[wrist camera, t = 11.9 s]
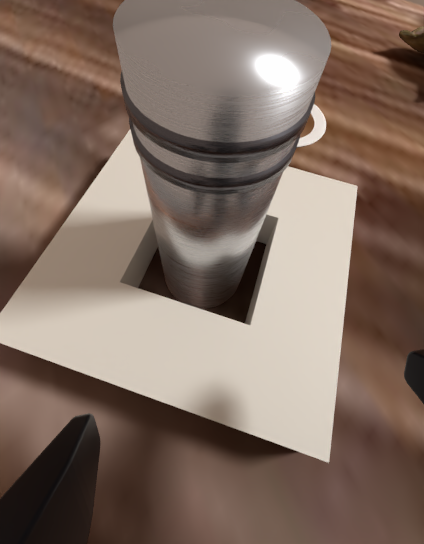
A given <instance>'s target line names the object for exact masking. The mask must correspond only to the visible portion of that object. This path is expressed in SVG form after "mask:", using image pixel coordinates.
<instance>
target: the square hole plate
mask: <svg viewBox="0 0 424 544" xmlns="http://www.w3.org/2000/svg"><path fill="white" fill-rule="evenodd" d="M356 195H357V186H355V185H352V184H348V183H345V182H341V181H338V180H334V179H330V178H327V177H323V176H320V175H316V174H313V173H309V172H306V171H302V170H299V169H295V168H291V167H288V166H287V168H286V169H285V170H284V171H283V174H282V176H281V179H280V181H279V184H278V186H277V189H276V192H275V194H274V197H273V199H272V202H271V204H270V207H269V209H268V212H267V214H266V217H265V219H264V222H263V225H262V227H261V230H260V232H259V235H258V237H257V240H256V241H258V242H261V243H264V244H266V247H265V251H264V255H263V258H262V262H261V266H260V269H259V273H258V277H257V280H256V284H255V288H254V291H253V295H252V299H251V302H250V306H249V310H248V313H247V317H246V321H245V324H244V323H241V322H238V321H235V320H232V319H229V318H226V317H223V316H220V315H217V314H214V313H211V312H208V311H205V310H202V309H199V308H196V307H193V306H190V305H187V304H184V303H181V302H178V301H175V300H172V299H169V298H166V297H163V296H160V295H157V294H154V293H151V292H148V291H145V290H142V289H139V288H138V287H139V285H140V283H141V281H142V279H143V277H144V275H145V273H146V270H147V268H148V266H149V264H150V262H151V260H152V258H153V256H154V254H155V252H156V250H157V248H158V242H157V238H156V233H155V228H154V223H153V218H152V213H151V208H150V204H149V199H148V194H147V189H146V184H145V179H144V175H143V170H142V165H141V160H140V157H139V155H138V153H137V151H136V149H135V146H134V143H133V138H132V134H131V129H130V130H129V132H128V133H127V135H126V136H125V138H124V139H123V140H122V142H121V143H120V145H119V146H118V147H117V149H116V150H115V152H114V153H113V155H112V156H111V157H110V159H109V160H108V162H107V163H106V164H105V166H104V167H103V169H102V170H101V171H100V173H99V174H98V176H97V177H96V179H95V180H94V181H93V183H92V184H91V186H90V187H89V188H88V190H87V191H86V193H85V194H84V196H83V197H82V198H81V200H80V201H79V203H78V204H77V205H76V207H75V208H74V210H73V211H72V212H71V214H70V215H69V217H68V218H67V220H66V221H65V222H64V224H63V225H62V227H61V228H60V229H59V231H58V232H57V234H56V235H55V237H54V238H53V239H52V241H51V242H50V244H49V245H48V246H47V248H46V249H45V251H44V252H43V253H42V255H41V256H40V258H39V259H38V261H37V262H36V263H35V265H34V266H33V268H32V269H31V270H30V272H29V273H28V275H27V276H26V278H25V279H24V280H23V282H22V283H21V285H20V286H19V287H18V289H17V290H16V292H15V293H14V295H13V296H12V297H11V299H10V300H9V302H8V303H7V304H6V306H5V307H4V309H3V310H2V311H1V313H0V343H1V344H4V345H7V346H9V347H12V348H15V349H18V350H20V351H23V352H26V353H29V354H31V355H34V356H37V357H40V358H42V359H45V360H48V361H51V362H53V363H56V364H59V365H62V366H64V367H67V368H70V369H73V370H75V371H78V372H81V373H84V374H86V375H89V376H92V377H95V378H97V379H100V380H103V381H106V382H108V383H111V384H114V385H117V386H119V387H122V388H125V389H128V390H130V391H133V392H136V393H139V394H141V395H144V396H147V397H150V398H152V399H155V400H158V401H161V402H163V403H166V404H169V405H172V406H174V407H177V408H180V409H183V410H185V411H188V412H191V413H194V414H196V415H199V416H202V417H205V418H207V419H210V420H213V421H216V422H218V423H221V424H224V425H227V426H229V427H232V428H235V429H238V430H240V431H243V432H246V433H249V434H251V435H254V436H257V437H260V438H262V439H265V440H268V441H271V442H273V443H276V444H279V445H282V446H284V447H287V448H290V449H293V450H295V451H298V452H301V453H304V454H306V455H309V456H312V457H315V458H317V459H320V460H323V461H326V462H328V463H329V458H330V448H331V438H332V428H333V419H334V409H335V399H336V390H337V380H338V370H339V360H340V351H341V341H342V331H343V322H344V312H345V302H346V292H347V283H348V273H349V263H350V254H351V244H352V234H353V225H354V215H355V205H356Z"/></svg>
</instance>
